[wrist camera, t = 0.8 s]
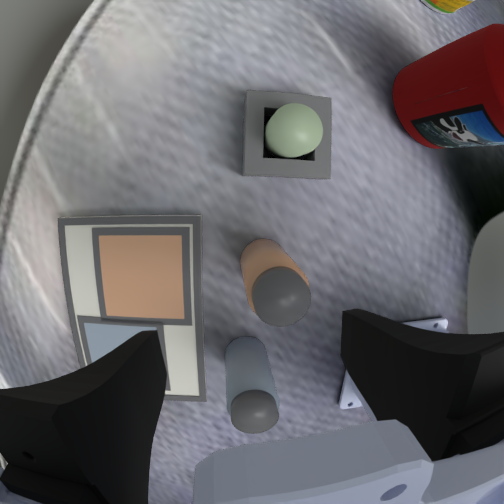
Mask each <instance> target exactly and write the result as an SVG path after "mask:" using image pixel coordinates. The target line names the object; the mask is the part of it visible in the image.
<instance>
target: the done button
mask: <svg viewBox="0 0 504 504" xmlns="http://www.w3.org/2000/svg"><path fill="white" fill-rule="evenodd" d="M322 136H323V126H322V122H321V120H320V118H319V116H318V115H317V113H316V112H315V111H314V110H313V109H311V108H310V107H308V106H306V105H303V104H299V103H290V104H286V105H284V106H282V107H280V108H279V109H278V110H277V111H276V112H275V113H274V115H273V116H272V117H271V119H270V120H269V121H268V123H267V124H266V125H265V127H264V137H263V143H264V146H265V148H266V149H267V150H268V152H269V153H270V154H272V155H273V156H275V157H277V158H280V159H292V158H295V157H298V156H301V155H304V154H307V153H309V152H311V151H313V150H314V149H315V148H316V147H317V146H318V145H319V143H320V142H321V139H322Z"/></svg>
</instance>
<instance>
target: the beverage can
mask: <svg viewBox="0 0 504 504" xmlns="http://www.w3.org/2000/svg"><path fill="white" fill-rule="evenodd" d="M393 102H394V107H395V110H396V113H397V116H398V118H399V120H400V122H401V124H402V125H403V127H404V128H405V130H406V131H407V132H408V133H409V135H410V136H411V137H412V138H414V139H415V140H416V141H417V142H419V143H420V144H422V145H424V146H426V147H429V148H436V149H437V148H453V147H470V146H488V145H504V25H503V24H492V25H489V26H487V27H484V28H482V29H480V30H478V31H475V32H473V33H471V34H468V35H466V36H464V37H462V38H460V39H458V40H456V41H454V42H452V43H449V44H447V45H445V46H443V47H441V48H439V49H438V50H436V51H434V52H432V53H430V54H428V55H426V56H424V57H422V58H421V59H419V60H417V61H415V62H413V63H412V64H410V65H408V66H406V67H405V68H403V69H402V70H401V71H400V72H399V73H398V75H397V77H396V79H395V81H394V85H393Z"/></svg>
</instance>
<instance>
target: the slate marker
mask: <svg viewBox="0 0 504 504" xmlns="http://www.w3.org/2000/svg"><path fill="white" fill-rule="evenodd" d="M225 369H226V398H227V411H228V413H229V415H230V416H231V421H232V424H233V425H234V427H235V428H236V429H238V430H240V431H242V432H245V433H251V434H254V433H261V432H264V431H267V430H269V429H270V428H272V427H273V426H274V425H275V424H276V423H277V421H278V418H279V412H278V409H279V406H280V402H279V398H278V394H277V390H276V387H275V383H274V379H273V375H272V372H271V368H270V364H269V360H268V356H267V352H266V349H265V346H264V345H263V343H262V342H261V341H259V340H258V339H256V338H253V337H240V338H237V339H235V340H233V341H232V342H231V343H230V344H229V345H228V346H227V348H226V351H225Z"/></svg>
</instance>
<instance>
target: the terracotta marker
mask: <svg viewBox="0 0 504 504" xmlns="http://www.w3.org/2000/svg"><path fill="white" fill-rule="evenodd" d="M240 265H241V270H242V275H243V279H244V284H245V289H246V294H247V298H248V302H249V305H250V307H251V309H252V310H253V311H254V312H255V313H256V314H257V315H258V317H259V318H260V319H261V320H262V321H263V322H265V323H267V324H269V325H272V326H276V327H283V326H289V325H291V324H294V323H296V322H297V321H299V320H300V319H301V318H302V317H303V316H304V315H305V314H306V312H307V310H308V308H309V306H310V302H311V293H310V289H309V283H308V280H307V277H306V276H305V274H304V273H303V272H302V270H301V269H300V268H299V267H298V266H297V265H296V264H295V262H294V261H293V260H292V259H291V258H290V257H289V256H288V254H287V253H286V252H285V251H284V250H283V249H282V248H281V246H280V245H279V244H277V243H276V242H274V241H272V240H269V239H258V240H255V241H253V242H251V243H250V244H248V245H247V246H246V247H245V249H244V250H243V252H242V255H241V259H240Z"/></svg>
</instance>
